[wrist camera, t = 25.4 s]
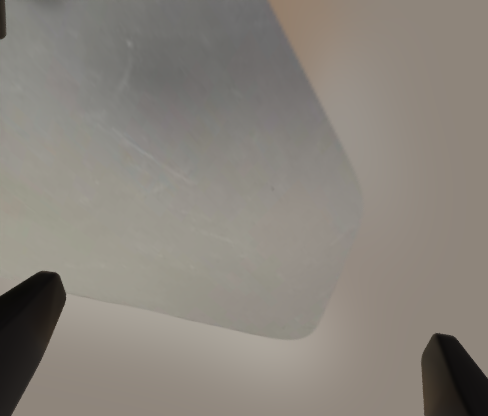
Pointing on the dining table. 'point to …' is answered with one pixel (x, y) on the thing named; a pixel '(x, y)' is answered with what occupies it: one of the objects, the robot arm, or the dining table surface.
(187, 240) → the dining table surface
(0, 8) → the drawer
